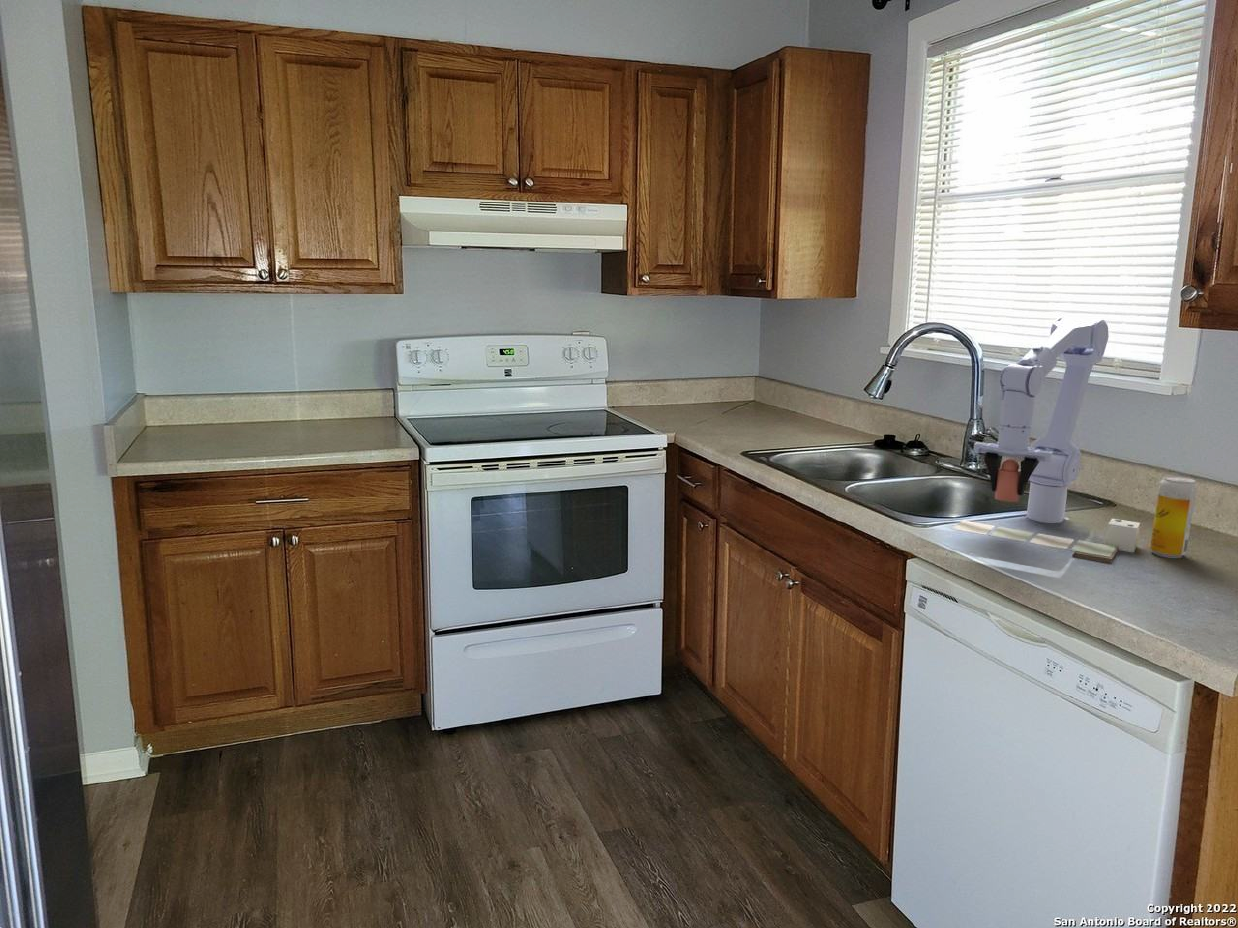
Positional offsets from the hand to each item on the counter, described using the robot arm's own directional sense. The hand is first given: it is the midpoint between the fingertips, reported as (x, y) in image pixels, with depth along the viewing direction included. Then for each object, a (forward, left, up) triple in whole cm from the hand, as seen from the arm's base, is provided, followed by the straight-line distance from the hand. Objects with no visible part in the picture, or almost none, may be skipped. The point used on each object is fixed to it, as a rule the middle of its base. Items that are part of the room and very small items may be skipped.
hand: (1007, 492), depth 188 cm
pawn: (0, 0, -1) cm, 1 cm away
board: (0, +5, -9) cm, 11 cm away
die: (-8, +20, -10) cm, 24 cm away
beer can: (-9, +28, -10) cm, 31 cm away
